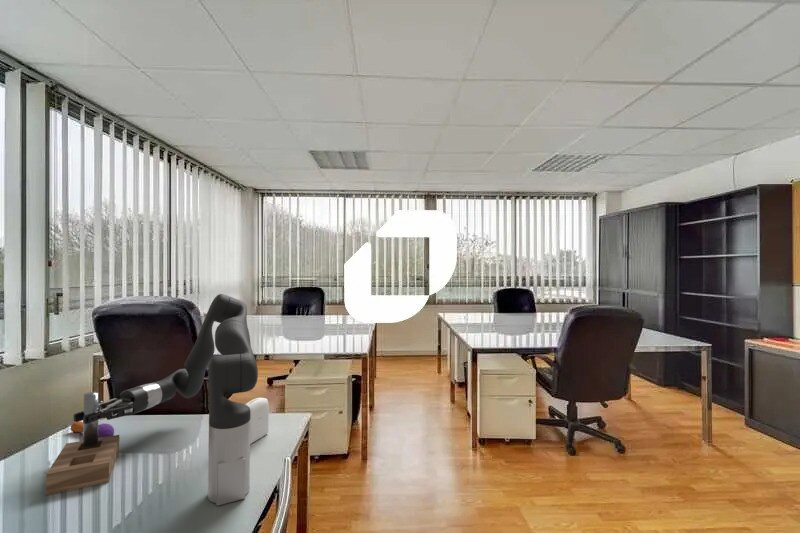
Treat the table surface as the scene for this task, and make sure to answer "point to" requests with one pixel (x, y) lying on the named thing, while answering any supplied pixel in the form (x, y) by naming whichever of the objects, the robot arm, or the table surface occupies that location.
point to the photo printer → (258, 418)
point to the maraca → (103, 429)
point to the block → (83, 465)
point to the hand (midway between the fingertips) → (79, 419)
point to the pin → (91, 428)
